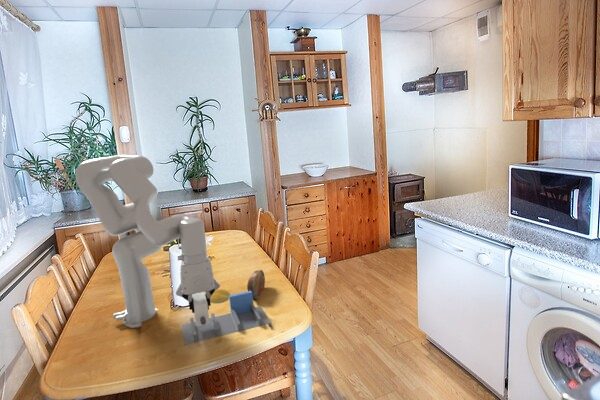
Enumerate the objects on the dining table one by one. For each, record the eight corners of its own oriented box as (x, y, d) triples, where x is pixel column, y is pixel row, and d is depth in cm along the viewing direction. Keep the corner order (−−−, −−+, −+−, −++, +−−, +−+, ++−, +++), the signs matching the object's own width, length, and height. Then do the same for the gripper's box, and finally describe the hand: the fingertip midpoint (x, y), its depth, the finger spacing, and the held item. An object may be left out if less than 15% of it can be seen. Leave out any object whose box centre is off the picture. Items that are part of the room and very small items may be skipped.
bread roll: (205, 306, 149) (204, 297, 148) (214, 295, 158) (213, 286, 157) (225, 307, 148) (224, 297, 147) (233, 296, 156) (232, 287, 155)
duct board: (185, 348, 123) (181, 324, 121) (182, 328, 135) (178, 305, 133) (270, 327, 132) (268, 304, 130) (261, 309, 144) (259, 288, 142)
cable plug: (197, 331, 120) (195, 311, 119) (193, 310, 133) (191, 291, 131) (210, 329, 122) (209, 308, 120) (205, 308, 134) (203, 289, 132)
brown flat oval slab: (255, 303, 149) (253, 282, 147) (247, 302, 150) (245, 282, 148) (266, 285, 164) (264, 266, 162) (258, 285, 164) (257, 266, 162)
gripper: (167, 266, 118) (174, 320, 122) (223, 257, 123) (227, 309, 128) (166, 257, 125) (173, 309, 129) (219, 249, 130) (223, 299, 134)
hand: (200, 308), depth 128 cm, fingers closed on cable plug, 4 cm apart
